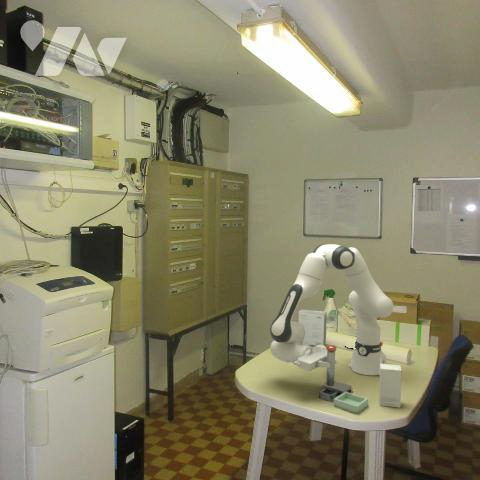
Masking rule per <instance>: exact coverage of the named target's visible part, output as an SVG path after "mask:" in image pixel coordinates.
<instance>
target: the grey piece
mask: <svg viewBox="0 0 480 480" xmlns="http://www.w3.org/2000/svg"><path fill="white" fill-rule="evenodd" d="M321 388H323V389H322V390H319V391H318V399H321V400H324V401H327V402H331V403H333V402H334V399H335V398H336V397H338V396H339V395H341V394H342V393H344V392H348V393H351V394H354V388H353V386H352V385H349V384H346V383H342V382H340V381H336V380H334V386H328V385H326V382H324V383H323V384H321Z"/></svg>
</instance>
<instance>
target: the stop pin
mask: <svg viewBox="0 0 480 480" xmlns="http://www.w3.org/2000/svg"><path fill="white" fill-rule="evenodd" d="M325 349H327V362H330V363H331V367H329V368H328V367H326V379H325V381H326V382H325V383H326V385H328V386H334V381H335V369H336V364H335V360H336V351H337V345H333V344H326V347H325Z"/></svg>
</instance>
